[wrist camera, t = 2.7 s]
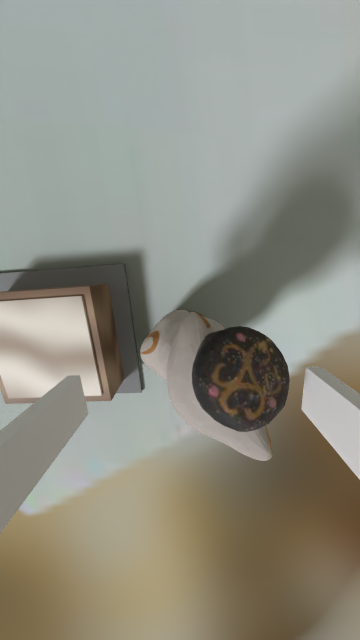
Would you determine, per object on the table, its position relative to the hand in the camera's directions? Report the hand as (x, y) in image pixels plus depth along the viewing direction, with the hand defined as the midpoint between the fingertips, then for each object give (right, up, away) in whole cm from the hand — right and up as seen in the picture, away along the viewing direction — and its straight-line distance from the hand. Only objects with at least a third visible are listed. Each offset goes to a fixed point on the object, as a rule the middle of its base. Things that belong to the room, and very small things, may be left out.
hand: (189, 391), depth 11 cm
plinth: (-14, +2, +11) cm, 18 cm away
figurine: (0, +3, +11) cm, 12 cm away
